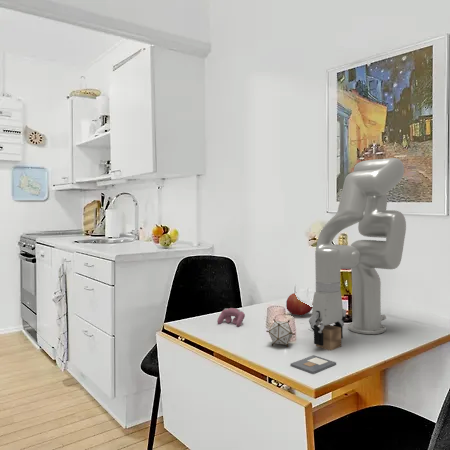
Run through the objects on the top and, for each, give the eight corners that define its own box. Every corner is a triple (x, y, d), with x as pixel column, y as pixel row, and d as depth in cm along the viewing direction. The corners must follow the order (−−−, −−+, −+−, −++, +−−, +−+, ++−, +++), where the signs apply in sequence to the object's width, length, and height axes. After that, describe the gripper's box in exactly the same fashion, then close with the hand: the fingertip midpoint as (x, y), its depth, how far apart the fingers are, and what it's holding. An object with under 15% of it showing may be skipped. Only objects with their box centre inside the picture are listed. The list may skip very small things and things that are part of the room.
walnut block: (327, 342, 140) (326, 324, 140) (341, 346, 136) (341, 327, 136) (316, 346, 137) (315, 327, 136) (330, 350, 132) (330, 331, 132)
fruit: (309, 311, 179) (309, 287, 179) (316, 318, 170) (315, 292, 169) (284, 312, 179) (283, 288, 178) (289, 319, 169) (288, 293, 168)
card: (313, 357, 127) (313, 354, 127) (336, 364, 121) (336, 362, 121) (290, 365, 121) (290, 363, 121) (313, 374, 115) (313, 371, 115)
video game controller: (243, 329, 162) (247, 310, 165) (238, 326, 159) (242, 307, 161) (221, 325, 168) (225, 308, 170) (215, 323, 164) (219, 305, 166)
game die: (285, 355, 140) (303, 329, 141) (280, 354, 132) (299, 326, 133) (263, 338, 144) (280, 313, 144) (257, 336, 136) (275, 309, 137)
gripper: (335, 281, 144) (335, 332, 145) (300, 289, 133) (301, 344, 134) (354, 284, 138) (355, 338, 139) (319, 292, 127) (320, 350, 128)
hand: (328, 341), depth 136 cm, fingers open, 9 cm apart
